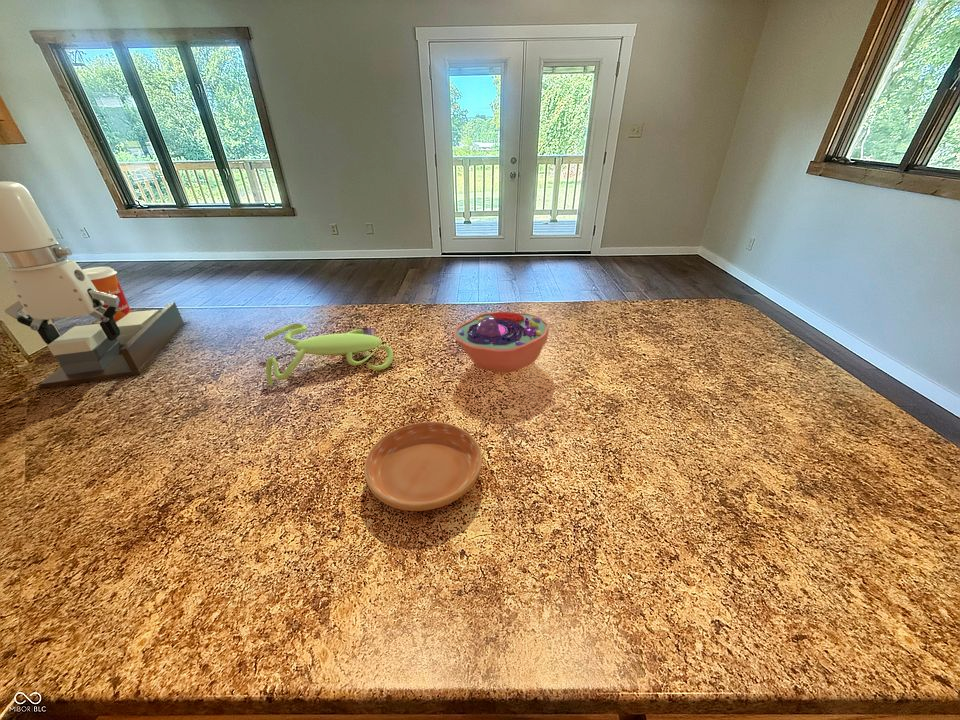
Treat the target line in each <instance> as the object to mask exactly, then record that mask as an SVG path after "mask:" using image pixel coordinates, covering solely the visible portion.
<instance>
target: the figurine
mask: <svg viewBox="0 0 960 720" xmlns="http://www.w3.org/2000/svg"><path fill="white" fill-rule="evenodd" d="M375 329H376V328H375V327H362V328H355V329H353V330H350V331H347V332H345V333H343V332H342V333H329V334H324V335H317V336H312V337H309V338H304V339H303V340H299V339H296V338H292V337H293V336H296V335H298V334H302V333H306V332H307V331H308V327H307V325H305V324H302V323H290V324H287V325H284V326H282V327H281V328H279V329H277V330H275V331H272V332H270V333H267V334H265V335H264V341H265V342H266V341H269V340H271V339H273V338H276V337H278V336H279V335H281V334H283V333H285V335H284V341H285V343H287V344H291V345H294V348H295V350H296V351H298V352H297V353H296V355H295V356H294V359H293V360H292V361H291V362H290V363H289V365H288V366H287V368H286V369H285V371H284V372H283V373H281V372H280V371H279V366H278V362H277V359H276V357H274V356H271V357H268V358H267V360H266V363H265V375H266V381H267V385H268V386H269V387H271V386H273V385H274V384H273V378H272V368H273V373H274V376H275V377H276V379H277V380H278V381H284V380H287V379H288V378H289V377H290V376H291V374H293V372H294V370H295V369H296V368H297V367H298V366H299V364H300V362H301V361H302V359H303V358H304V356H305V355H306V354H307V355H313V356H314V355H315V356H328V358H329V359H333V358H335V357H337V356H343V355H345V357H346V361H347V363H348V364H349V365H351V366H352V367H355V366H360V365H361V364H363V363H365V362H367V361H368V360H369V359H370V358H371V357H372V356H373V355H374V353H375V352H377V351H378V350H380V349H381V350H384V351H386V353H387V358H386V359H385V361H384V362H383V363H382V364H379V365H372V364H371V363H369V362H367V364H366V365H367V366H368V368H369V369H370V370H372V371H383V370H385V369H387V368H389V367H390V366H391V364H392V363H393V360H394V351H393V349H392V348H391V347H390V346H389V345H387V344H382V343H383V340H382V339H381V338H380V337H378V336H376V330H375ZM287 331H288V332H287ZM373 349H374V351H372V352H371V353H370V351H371V350H373ZM359 353H360V354H361V355H362V356H363V357H364V358H363V359H362V360H359V361H357V360H355V359H354V358H353V355H354V356H357V354H359ZM272 366H273V367H272Z"/></svg>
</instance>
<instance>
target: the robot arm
mask: <svg viewBox="0 0 960 720" xmlns="http://www.w3.org/2000/svg"><path fill="white" fill-rule="evenodd" d="M72 253H73V252H72V250H71V249H70V248H69V247H62V246H61V244H60V243H58V241H57V239H56V237H55V235H54V234H53V232H52V230H51V228H50V226H49V224H48V222H47V221H46V219H45V218H44V216H43V214H42V212H41V211H40V209H39V207H38V205H37V204H36V202H35V200H34V198H33V196H32V194H31V193H30V192H29V190H28V189H27V188H26V187H25V186H24V185H22V184H21V183H18V182H16V181H4V180H3V181H0V258H2V260H3V262H4V263H5V264H6V266H7V268H6V269H5V271H6V275H7V278H8V280H9V283H10V286H11V288H12V290H13V292H14V294H15V295H16V297H17V301H16V302H14V303H13V304H11V305H10V306H8V307H7V308H5V309H4V313H5V314H7V315H8V316H10V317H11V318H13V319H15V320H16V321H17V322H18V323H20V324H21V325H24V326H27V327H29V328H30V330H32V331H36V332H37V333H38V334H39V336H40V337H41V340H43V342H44V343H45V344H46V346H47V345H48V344H50V343H51V342H53V341H54V340H56V339H57V338H58V337H60V336H61V334H60V333H59V331H58V329H57V328H56V327H55V325H54V324H52V323H49V321H50V320H58V319H66V318H75V317H83V316H91V317H93V318H95V319H97V320H99V321H101V322H99V324H100V326H101V328H102V329H103V331H104V333H105V335H106V336H107V338H108V340H110V341H112V340H115V339H116V338H117V337H118V336H119V335H120V330H119V328H118V326H117V324H116V322H115V320H114V319H113V317H114V316H115V314H116V312H117V311H118V309H119V307H118V305H119V297H118V296H115V295H111V294H107V293H103V292H99V291H97V289H96V288H95V286H94V285H93V283H92V282H91V280H90V279H89V278H88V276H87V275H86V274H85V272H84V271H83V269H82V268H81V266H80V265H79V264H78V263H77V262H76V261H75V260H74V259H68V257H70V256H72ZM104 301H105V302H107V303H108V308H107V309H106V308H104V307H102V306H103V305H104ZM23 309H24V311H25V312H26V313H25V312H24V311H23Z"/></svg>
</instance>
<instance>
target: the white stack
mask: <svg viewBox="0 0 960 720" xmlns="http://www.w3.org/2000/svg"><path fill="white" fill-rule="evenodd" d="M160 311H161V310H159V309H151V310H149V309H148V310H140V311H131V312H130V313H128V314H127V315H126V316H124V317H123V318H122V319H120V320H119V321H117V322H116V324H117V326H118V328H119V330H120V335H119V336H118V337H117V340H118V341H119V342H120V344H121V345H124V344H126V343H127V342H128V341H129V340H130V339H131V338H132V337H134V336H135V335H136V334H137V333H138V332H139V331H140V330H141V329H142V328H143V327H144V326H145V325H146V324H147V323H148V322H150V321H151V320H152V319H153V318H154V317H155V316H156V315H157V314H158V313H159V312H160Z"/></svg>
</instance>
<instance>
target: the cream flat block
mask: <svg viewBox="0 0 960 720" xmlns="http://www.w3.org/2000/svg"><path fill="white" fill-rule="evenodd" d="M106 338H107V336H106V335H105V333H104V331H103V329H102V328H101V326H100V323H94V324H85V325H75V326H73V327H71V328H70V329H68V330H67V331H66V332H64V333H63V334H60V337H58V338H57V339H56V340H54V341H53V342H51V343H50V344H48V345H47V344H46V347H47V349H48V350H49V351H50V353H51V354H52V356H55V355H62V354H70V353H78V352H86V351H92V350H93V349H94V348H95V347H96V346H98V345H99V344H100V343H101V342H102V341H104V340H105V339H106Z"/></svg>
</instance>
